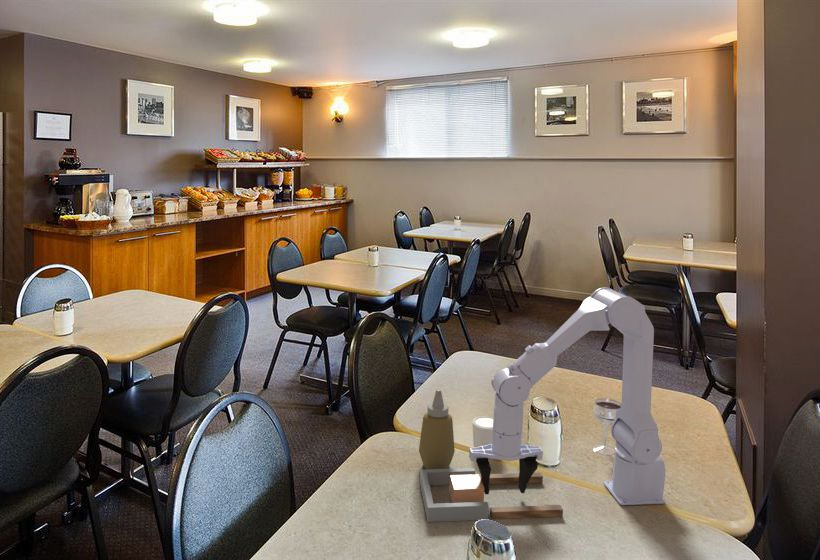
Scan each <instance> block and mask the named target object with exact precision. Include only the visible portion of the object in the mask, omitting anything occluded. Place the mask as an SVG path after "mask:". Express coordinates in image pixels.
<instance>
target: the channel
mask: <svg viewBox="0 0 820 560" xmlns="http://www.w3.org/2000/svg"><path fill="white" fill-rule="evenodd" d="M479 476H480V479H481V481H482V477H481V474H480V473H479ZM543 479H544V476H543V474H542V472H534V473H533V475H532V476H531V478H530V480H529V482H528V484H543V481H544V480H543ZM518 481H519V472H517V473H516V472H515V473H490V479H489V485H513V484H515V485H516V484H517V485H518ZM482 484H483V483H482ZM489 515H490V519H491V520H502V519H503V520H504V519H505V520H506V519H531V518H532V519H533V518H556V517H557V518H558V517H563V515H564V509H563V507H562V506H561V504H548V505H547V504H545V505H543V504H542V505H541V504H540V505H517V506H493V507H492V506H491V507H489Z"/></svg>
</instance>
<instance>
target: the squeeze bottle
mask: <svg viewBox="0 0 820 560" xmlns="http://www.w3.org/2000/svg"><path fill="white" fill-rule="evenodd" d="M433 397H434V398H433V401H432V402H430V403H429V404H428V405H427V410H426V411H427V412H426V413H425V414H423V417H422V421H421V431H420V439H419V447H418V453H419V456H420V459H421V462H422V465H423V467H424V468H425V469H450V465H451V463H452V460H453V458H454V455H455V437H454V422H453V416H452V415H451V414H450V413H449V407H450V406H449V405H447V404H446V403H444V399H443V392H442V390H441V389H436V390H435V393H434V396H433Z"/></svg>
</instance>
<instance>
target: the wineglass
mask: <svg viewBox="0 0 820 560" xmlns="http://www.w3.org/2000/svg"><path fill="white" fill-rule="evenodd" d="M593 403H594V406H592V407H593V408H592V411H593V412H592V413H593V417H594V418H595V419H596V420H597V421H598V422H599V423H600V424H602V425H603V426H604V432H603V433H604V434H603V435H604V436H603V444H596V445H594V446H593V451H594V452H596V453H597V454H600V455H604V456H613V455H615V449H614V448H612V447H610V446H608V445H607V438H608V430H609V427H610V426H612V424H613V422H614V420H615V417H616V411H617V410H618V409H620V408H621V407H622V401H621V402H620V401H618V400H617V399H616V400H615V399H612V398H607V397H601V398H600V397H599V398H595V399H594V401H593Z"/></svg>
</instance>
